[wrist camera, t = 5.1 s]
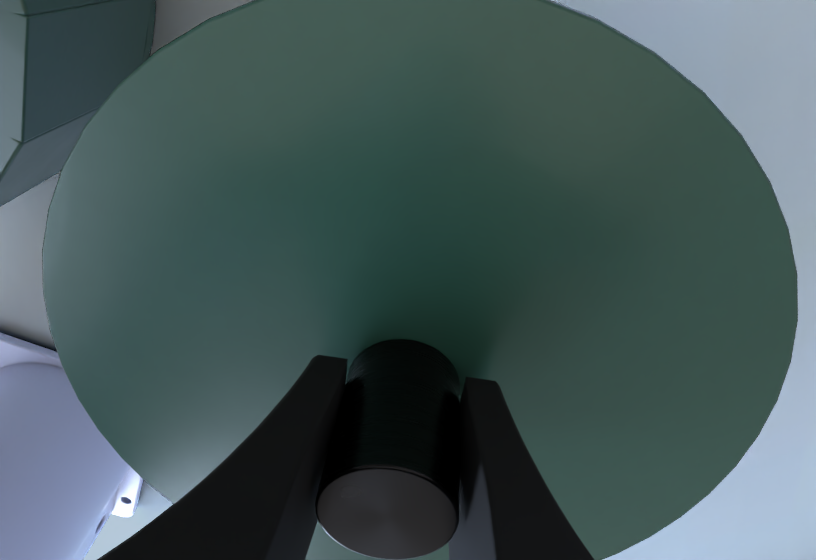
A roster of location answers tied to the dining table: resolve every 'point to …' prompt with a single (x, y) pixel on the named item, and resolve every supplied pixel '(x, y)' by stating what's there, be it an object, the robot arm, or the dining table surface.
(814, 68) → the dining table surface
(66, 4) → the pot
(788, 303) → the pot lid
